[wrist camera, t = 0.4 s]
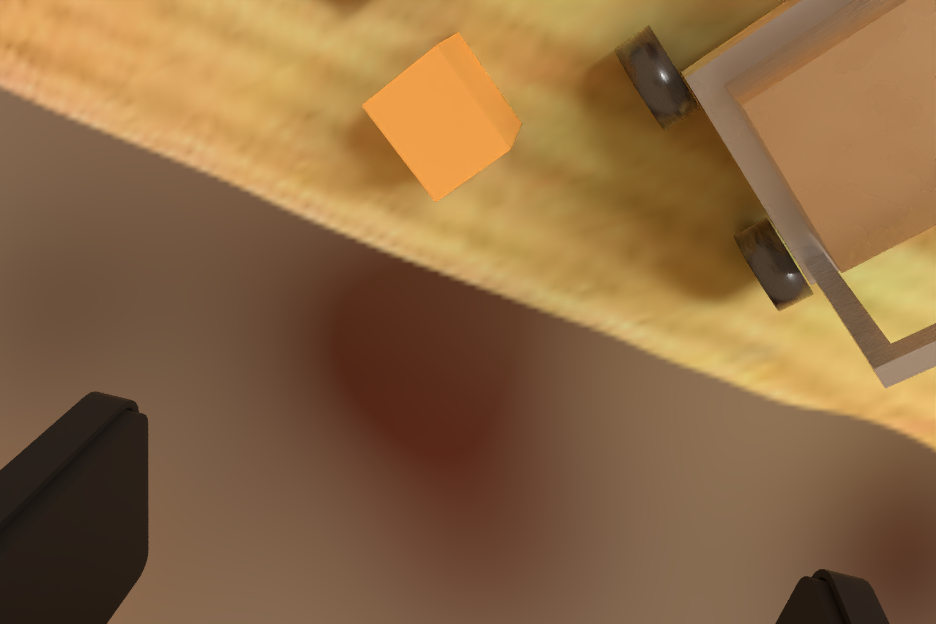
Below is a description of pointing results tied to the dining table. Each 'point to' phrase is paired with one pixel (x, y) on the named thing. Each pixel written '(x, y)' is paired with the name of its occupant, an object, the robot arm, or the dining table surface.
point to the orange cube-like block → (445, 117)
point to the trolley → (820, 144)
